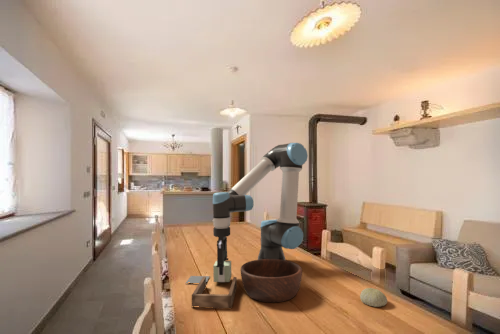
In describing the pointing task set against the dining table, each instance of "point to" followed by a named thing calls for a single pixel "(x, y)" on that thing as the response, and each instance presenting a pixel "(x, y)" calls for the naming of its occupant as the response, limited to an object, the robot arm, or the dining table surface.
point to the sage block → (227, 271)
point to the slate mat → (196, 279)
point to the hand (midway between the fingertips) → (222, 278)
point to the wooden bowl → (271, 279)
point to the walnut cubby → (213, 296)
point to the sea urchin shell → (373, 297)
